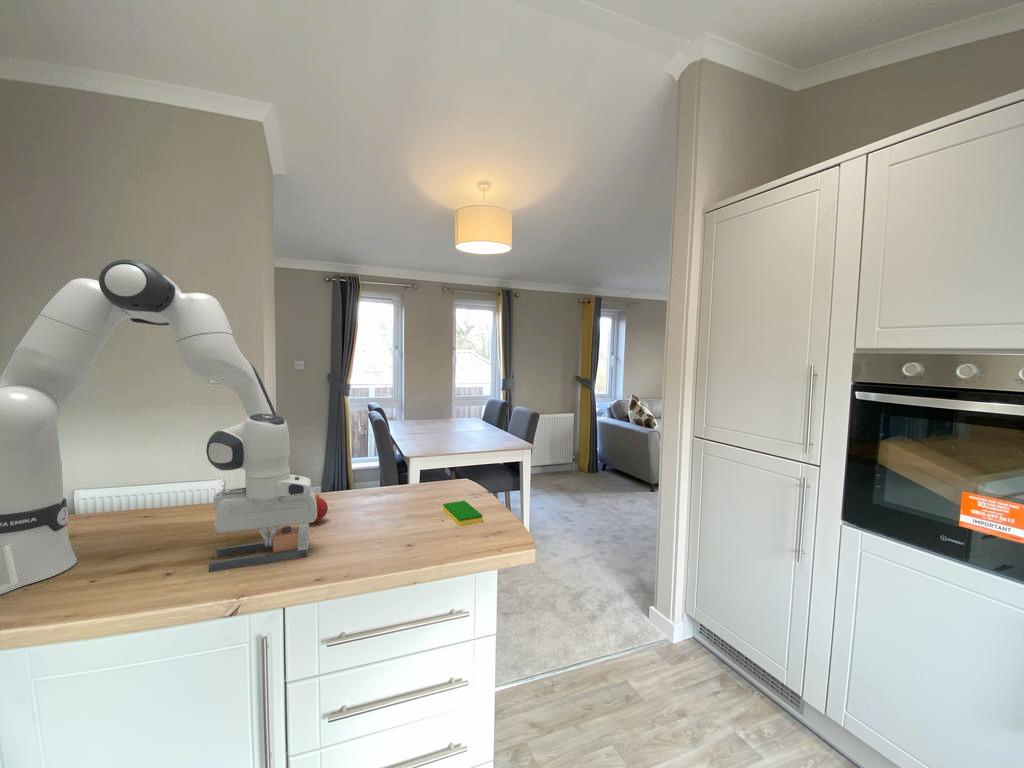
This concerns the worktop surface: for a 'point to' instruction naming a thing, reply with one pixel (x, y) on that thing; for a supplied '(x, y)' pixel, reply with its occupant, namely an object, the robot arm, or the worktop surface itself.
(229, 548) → the rail
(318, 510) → the onion
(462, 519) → the dish sponge
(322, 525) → the worktop surface
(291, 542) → the block
